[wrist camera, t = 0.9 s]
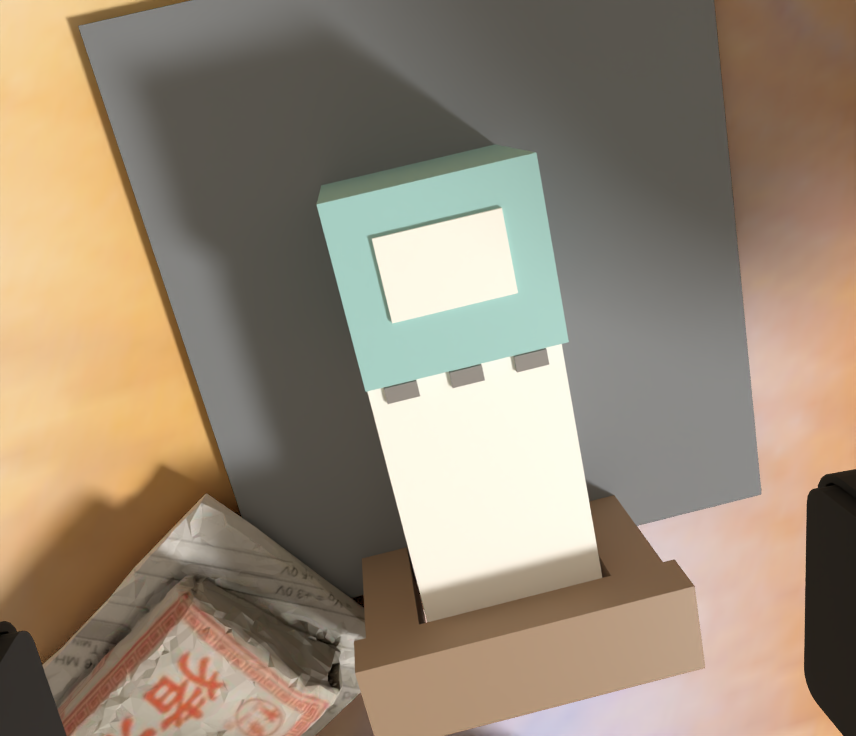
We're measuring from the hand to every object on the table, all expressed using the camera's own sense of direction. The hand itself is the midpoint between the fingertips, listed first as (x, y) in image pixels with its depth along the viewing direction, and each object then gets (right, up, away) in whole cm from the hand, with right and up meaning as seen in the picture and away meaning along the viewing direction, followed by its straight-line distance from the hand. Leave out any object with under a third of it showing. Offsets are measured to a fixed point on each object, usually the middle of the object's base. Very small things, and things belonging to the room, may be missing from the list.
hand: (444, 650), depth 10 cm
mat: (+1, +6, +19) cm, 20 cm away
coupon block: (+2, -1, +21) cm, 21 cm away
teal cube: (0, +8, +18) cm, 20 cm away
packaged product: (-11, -10, +23) cm, 28 cm away
